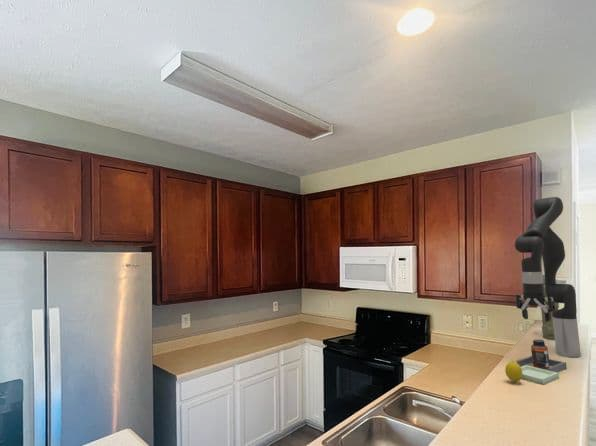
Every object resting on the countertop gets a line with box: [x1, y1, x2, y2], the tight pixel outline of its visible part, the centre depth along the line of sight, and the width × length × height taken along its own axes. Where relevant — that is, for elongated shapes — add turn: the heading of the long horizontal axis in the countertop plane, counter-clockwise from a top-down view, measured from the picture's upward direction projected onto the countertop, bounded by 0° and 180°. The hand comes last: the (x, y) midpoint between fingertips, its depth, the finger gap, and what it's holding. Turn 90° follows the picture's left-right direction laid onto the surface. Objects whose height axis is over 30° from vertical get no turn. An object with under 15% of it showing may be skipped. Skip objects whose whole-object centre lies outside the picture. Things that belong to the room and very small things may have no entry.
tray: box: [521, 364, 560, 386], centre depth 135 cm, size 12×12×2 cm
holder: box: [516, 355, 567, 373], centre depth 146 cm, size 13×13×2 cm
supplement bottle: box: [530, 339, 551, 370], centre depth 146 cm, size 6×6×11 cm
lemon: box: [504, 360, 523, 384], centre depth 131 cm, size 6×6×8 cm
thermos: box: [540, 274, 560, 341], centre depth 194 cm, size 9×12×35 cm
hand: (536, 320), depth 148 cm, fingers open, 8 cm apart
